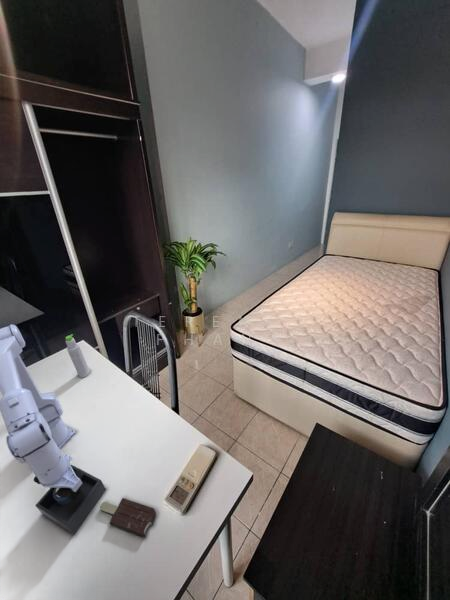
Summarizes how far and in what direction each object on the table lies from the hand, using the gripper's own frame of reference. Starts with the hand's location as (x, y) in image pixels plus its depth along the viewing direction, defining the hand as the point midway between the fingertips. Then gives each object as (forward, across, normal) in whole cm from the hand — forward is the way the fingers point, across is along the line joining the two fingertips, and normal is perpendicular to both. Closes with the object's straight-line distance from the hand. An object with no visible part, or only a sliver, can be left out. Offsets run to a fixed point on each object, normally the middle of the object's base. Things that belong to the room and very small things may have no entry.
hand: (67, 490), depth 63 cm
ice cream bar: (+6, -15, -2) cm, 16 cm away
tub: (+6, 0, 0) cm, 6 cm away
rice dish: (+1, 0, 0) cm, 1 cm away
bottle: (+6, +37, -36) cm, 52 cm away
